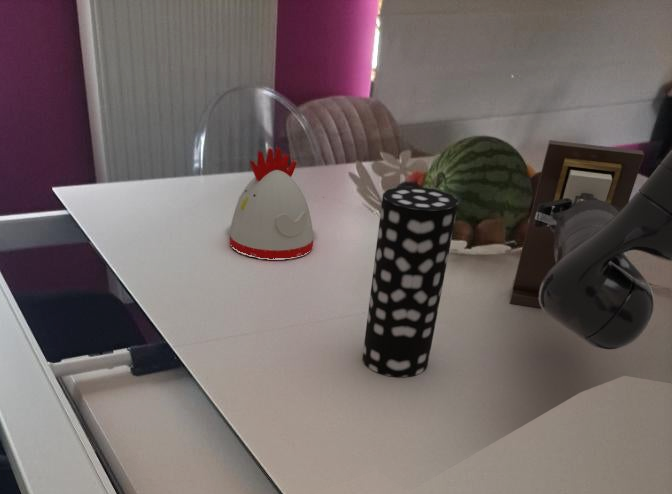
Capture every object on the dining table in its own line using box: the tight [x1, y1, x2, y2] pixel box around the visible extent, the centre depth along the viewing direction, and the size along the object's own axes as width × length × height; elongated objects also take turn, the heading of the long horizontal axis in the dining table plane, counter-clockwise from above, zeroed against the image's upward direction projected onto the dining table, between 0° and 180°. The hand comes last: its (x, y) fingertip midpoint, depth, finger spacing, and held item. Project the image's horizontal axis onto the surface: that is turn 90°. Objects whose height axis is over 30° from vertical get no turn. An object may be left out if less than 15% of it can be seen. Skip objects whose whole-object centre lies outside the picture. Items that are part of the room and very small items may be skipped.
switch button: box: [563, 170, 612, 203], centre depth 98 cm, size 2×5×6 cm, turn 74°
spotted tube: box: [362, 186, 459, 378], centre depth 88 cm, size 8×8×20 cm
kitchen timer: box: [229, 146, 314, 259], centre depth 119 cm, size 14×14×15 cm
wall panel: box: [509, 139, 645, 309], centre depth 104 cm, size 6×12×22 cm, turn 74°
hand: (584, 201), depth 97 cm, fingers closed
